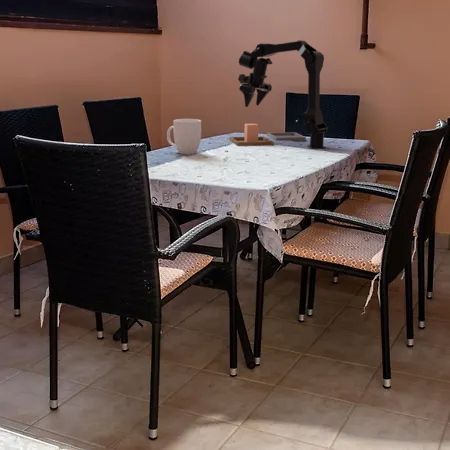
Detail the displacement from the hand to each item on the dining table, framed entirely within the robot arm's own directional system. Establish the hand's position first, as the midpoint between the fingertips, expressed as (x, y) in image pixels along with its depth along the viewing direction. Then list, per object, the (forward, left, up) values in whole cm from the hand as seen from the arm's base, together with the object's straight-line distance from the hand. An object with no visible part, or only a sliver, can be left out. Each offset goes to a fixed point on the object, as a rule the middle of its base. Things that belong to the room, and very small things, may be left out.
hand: (251, 106), depth 295 cm
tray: (+1, -17, -15) cm, 23 cm away
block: (-13, +3, -15) cm, 20 cm away
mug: (-33, +35, -15) cm, 51 cm away
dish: (-13, +3, -15) cm, 21 cm away
